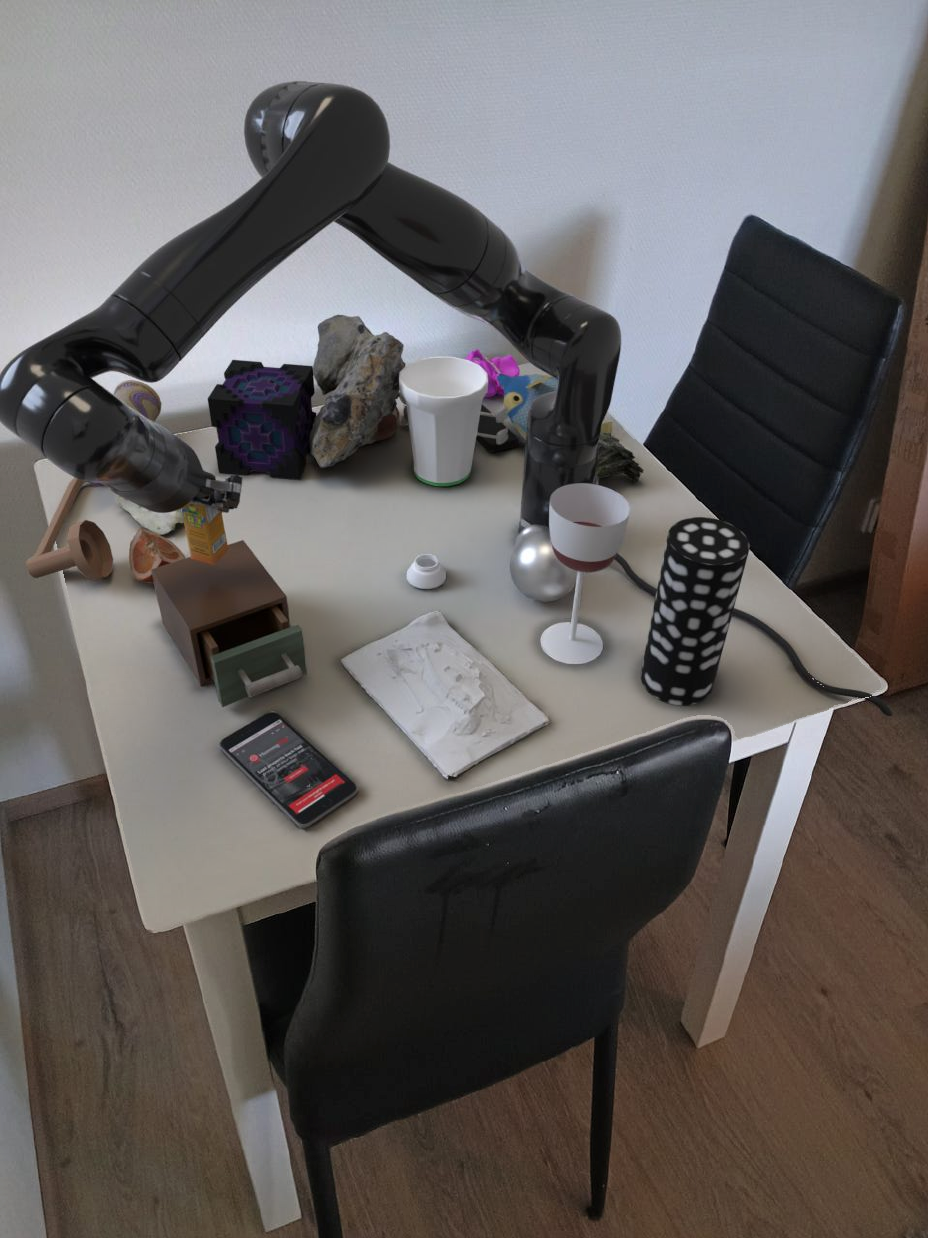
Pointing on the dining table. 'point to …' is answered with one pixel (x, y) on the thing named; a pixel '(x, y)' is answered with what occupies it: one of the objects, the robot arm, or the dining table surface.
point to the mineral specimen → (615, 459)
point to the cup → (443, 416)
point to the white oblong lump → (152, 517)
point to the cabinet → (212, 597)
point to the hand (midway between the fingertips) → (207, 501)
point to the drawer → (252, 654)
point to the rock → (352, 386)
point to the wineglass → (582, 557)
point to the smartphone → (288, 768)
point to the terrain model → (443, 694)
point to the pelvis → (495, 370)
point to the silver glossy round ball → (539, 566)
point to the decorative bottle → (138, 400)
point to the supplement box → (205, 533)
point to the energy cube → (263, 418)
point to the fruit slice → (150, 554)
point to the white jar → (426, 572)
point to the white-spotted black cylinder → (693, 609)
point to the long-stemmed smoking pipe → (72, 544)
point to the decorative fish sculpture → (528, 397)
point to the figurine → (500, 436)
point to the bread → (387, 426)
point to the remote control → (493, 433)
